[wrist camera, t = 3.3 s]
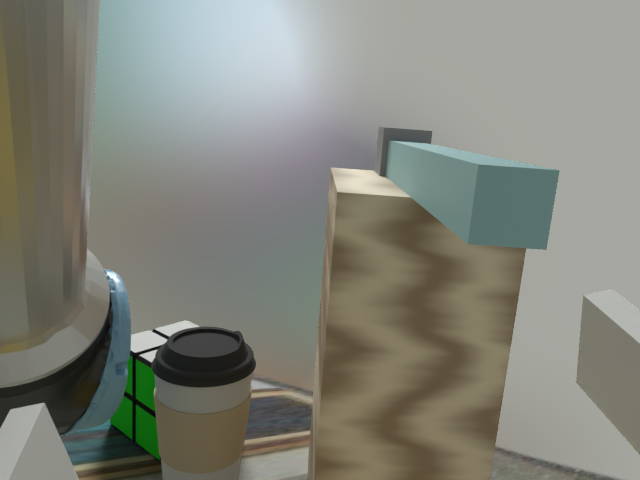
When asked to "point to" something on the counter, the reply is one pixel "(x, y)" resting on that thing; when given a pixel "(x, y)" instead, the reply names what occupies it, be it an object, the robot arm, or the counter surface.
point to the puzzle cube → (143, 388)
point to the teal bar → (471, 189)
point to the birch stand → (407, 340)
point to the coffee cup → (202, 403)
